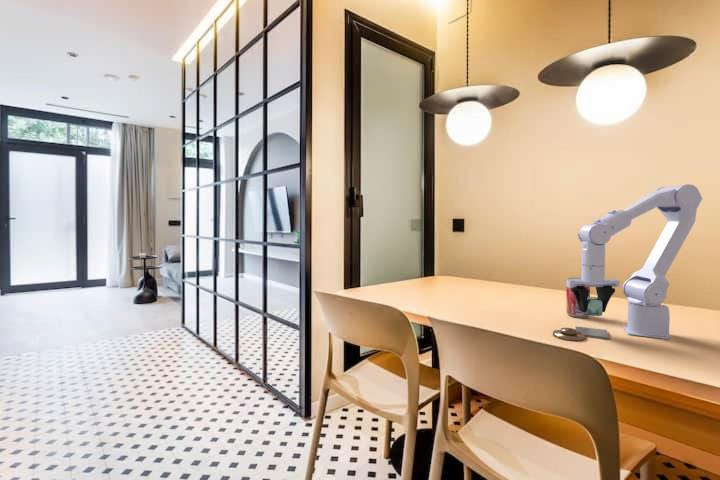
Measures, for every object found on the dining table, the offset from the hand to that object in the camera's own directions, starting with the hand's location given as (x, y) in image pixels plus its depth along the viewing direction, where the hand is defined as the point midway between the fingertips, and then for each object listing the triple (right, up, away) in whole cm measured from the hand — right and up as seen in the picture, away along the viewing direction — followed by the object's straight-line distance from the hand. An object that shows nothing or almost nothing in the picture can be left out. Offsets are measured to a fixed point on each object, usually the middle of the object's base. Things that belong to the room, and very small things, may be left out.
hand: (592, 311), depth 108 cm
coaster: (0, -7, 0) cm, 7 cm away
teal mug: (0, -1, 0) cm, 1 cm away
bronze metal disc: (-8, -7, -2) cm, 11 cm away
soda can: (+8, -6, +20) cm, 22 cm away
